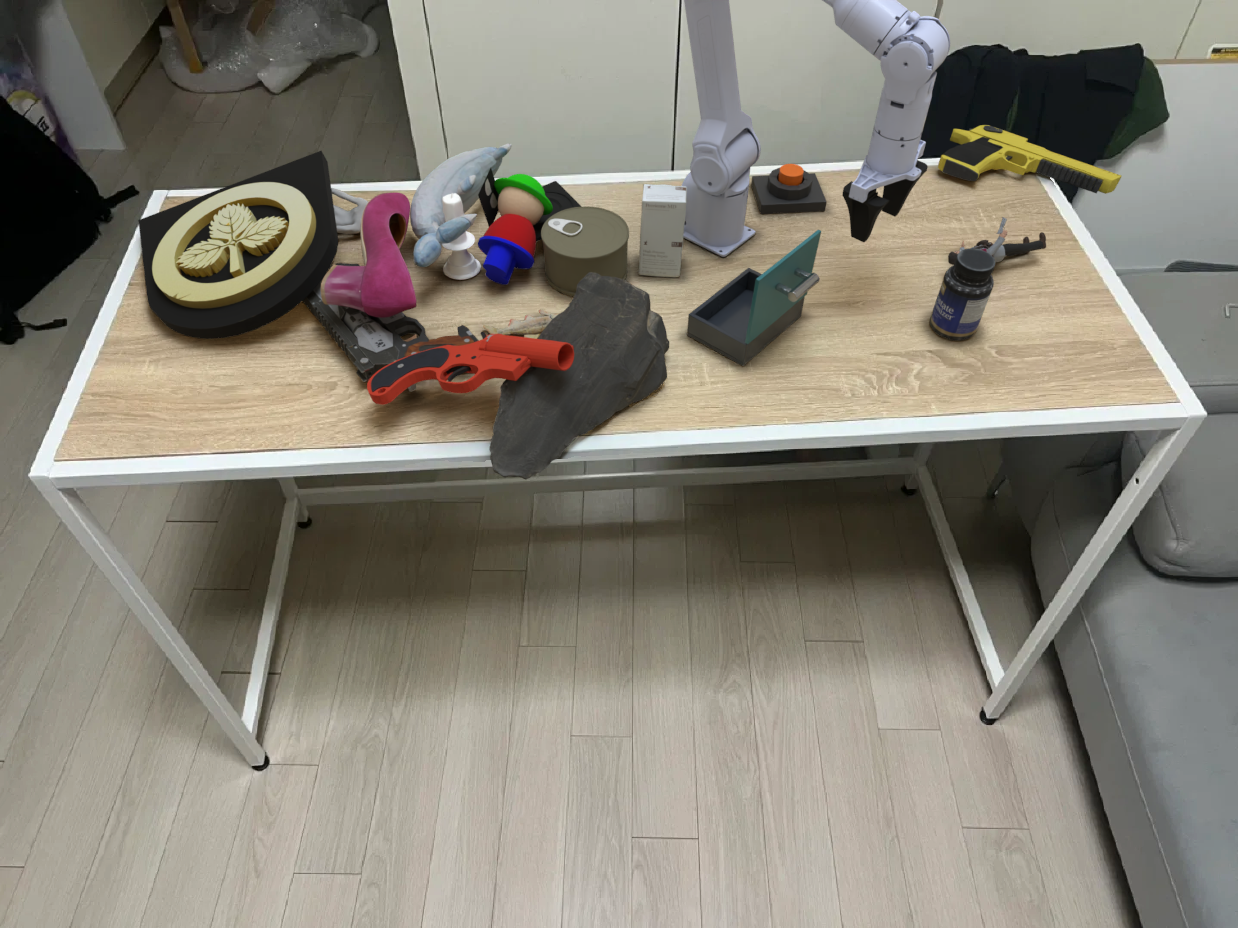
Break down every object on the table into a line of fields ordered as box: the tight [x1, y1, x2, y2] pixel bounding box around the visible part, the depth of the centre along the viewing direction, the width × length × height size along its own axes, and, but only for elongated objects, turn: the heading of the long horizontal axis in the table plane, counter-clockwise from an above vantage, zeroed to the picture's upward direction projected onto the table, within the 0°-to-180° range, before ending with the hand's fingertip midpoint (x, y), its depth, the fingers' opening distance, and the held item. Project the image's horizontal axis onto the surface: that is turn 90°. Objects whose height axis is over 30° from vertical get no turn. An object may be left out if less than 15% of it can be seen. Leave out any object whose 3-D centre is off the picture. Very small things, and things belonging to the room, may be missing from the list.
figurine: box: [331, 187, 369, 235], centre depth 137 cm, size 10×6×20 cm
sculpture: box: [409, 143, 513, 268], centre depth 130 cm, size 18×8×25 cm
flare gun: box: [366, 331, 574, 406], centre depth 108 cm, size 3×23×15 cm
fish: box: [482, 309, 561, 339], centre depth 123 cm, size 12×2×5 cm
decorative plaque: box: [138, 150, 339, 340], centre depth 128 cm, size 28×4×30 cm
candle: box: [442, 193, 482, 281], centre depth 128 cm, size 5×5×12 cm
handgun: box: [937, 124, 1122, 195], centre depth 147 cm, size 4×26×15 cm
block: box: [750, 167, 828, 215], centre depth 143 cm, size 10×8×4 cm
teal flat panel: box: [745, 229, 822, 344], centre depth 115 cm, size 10×13×4 cm
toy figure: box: [477, 168, 553, 286], centre depth 129 cm, size 9×10×15 cm
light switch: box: [533, 180, 583, 243], centre depth 137 cm, size 10×4×10 cm
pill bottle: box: [929, 247, 996, 342], centre depth 120 cm, size 6×6×11 cm
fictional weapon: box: [301, 262, 480, 392], centre depth 123 cm, size 28×4×15 cm
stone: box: [489, 272, 670, 480], centre depth 112 cm, size 16×12×30 cm
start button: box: [778, 163, 805, 186], centre depth 141 cm, size 4×4×2 cm
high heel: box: [321, 192, 417, 318], centre depth 124 cm, size 26×9×12 cm
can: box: [541, 206, 630, 298], centre depth 130 cm, size 12×12×7 cm
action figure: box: [947, 216, 1047, 266], centre depth 131 cm, size 9×7×15 cm
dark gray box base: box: [686, 267, 806, 367], centre depth 123 cm, size 9×13×4 cm
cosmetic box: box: [638, 183, 687, 278], centre depth 128 cm, size 6×4×12 cm
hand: (874, 225), depth 122 cm, fingers open, 7 cm apart
